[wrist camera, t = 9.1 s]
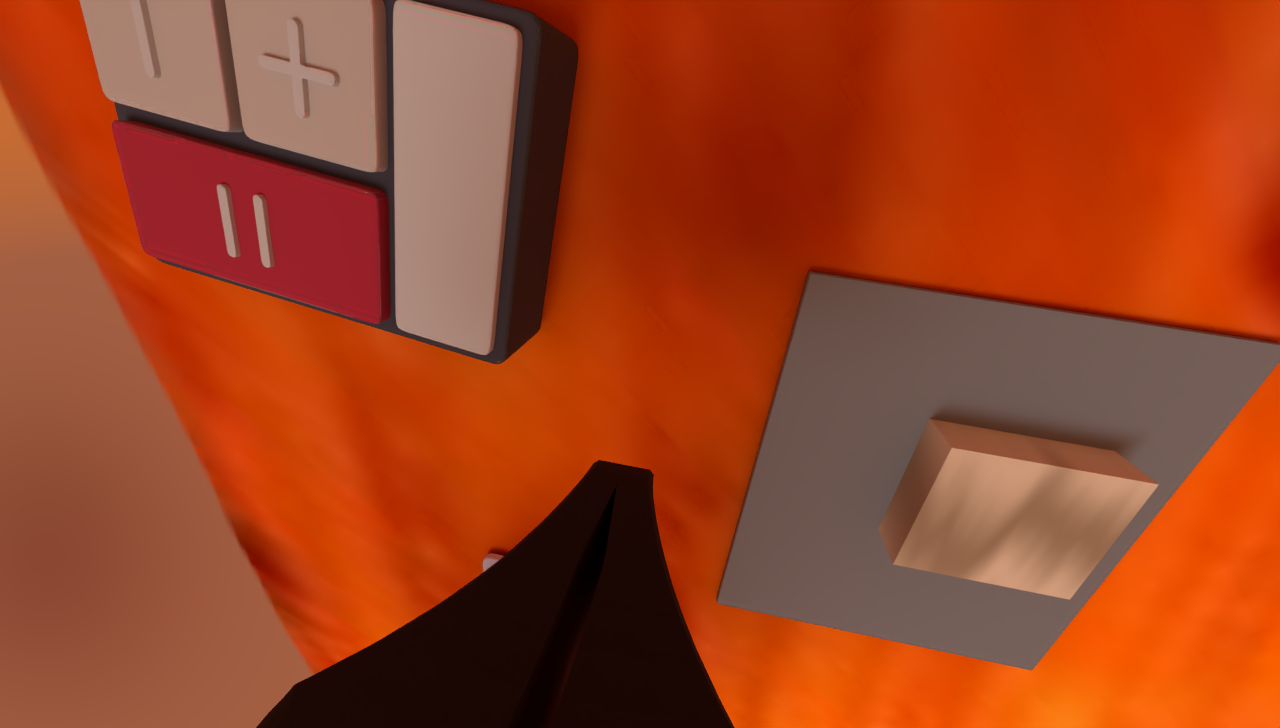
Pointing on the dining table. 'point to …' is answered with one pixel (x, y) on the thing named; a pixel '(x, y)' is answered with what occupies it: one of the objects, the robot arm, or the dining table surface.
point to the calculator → (348, 153)
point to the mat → (969, 395)
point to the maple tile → (1010, 508)
